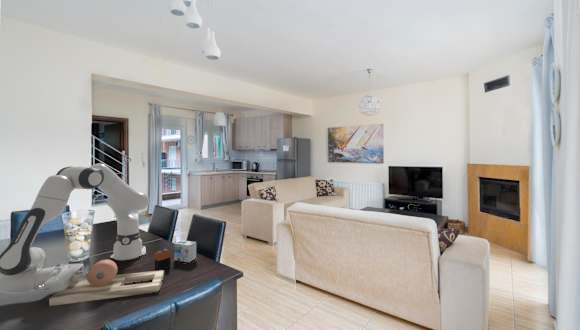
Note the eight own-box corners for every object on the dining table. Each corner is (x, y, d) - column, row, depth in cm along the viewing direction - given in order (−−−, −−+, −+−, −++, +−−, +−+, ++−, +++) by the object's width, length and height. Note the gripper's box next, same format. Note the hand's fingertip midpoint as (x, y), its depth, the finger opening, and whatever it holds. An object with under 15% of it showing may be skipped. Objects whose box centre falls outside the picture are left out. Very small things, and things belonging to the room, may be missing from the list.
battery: (170, 267, 147) (170, 249, 146) (158, 271, 141) (158, 252, 141) (166, 265, 149) (166, 247, 149) (154, 269, 144) (154, 251, 143)
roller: (87, 272, 121) (104, 254, 123) (105, 285, 124) (122, 268, 126) (81, 278, 115) (99, 259, 117) (100, 291, 118) (118, 273, 120)
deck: (69, 286, 124) (69, 280, 124) (164, 275, 136) (164, 269, 136) (49, 306, 108) (49, 298, 108) (159, 291, 120) (159, 285, 120)
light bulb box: (173, 261, 155) (173, 243, 154) (181, 257, 161) (181, 239, 161) (188, 264, 151) (189, 245, 151) (196, 260, 158) (196, 241, 157)
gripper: (34, 282, 104) (77, 277, 109) (60, 262, 124) (96, 259, 128) (34, 298, 105) (77, 293, 109) (61, 275, 124) (96, 272, 128)
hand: (87, 274), depth 119 cm, fingers closed
